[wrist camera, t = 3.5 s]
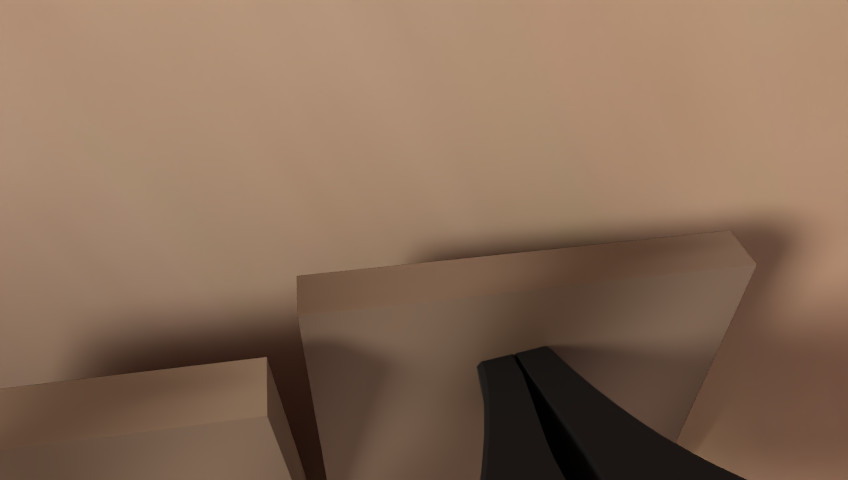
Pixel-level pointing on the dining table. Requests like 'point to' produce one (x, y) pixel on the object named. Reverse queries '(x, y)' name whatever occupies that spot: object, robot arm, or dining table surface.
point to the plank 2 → (507, 342)
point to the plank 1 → (151, 427)
